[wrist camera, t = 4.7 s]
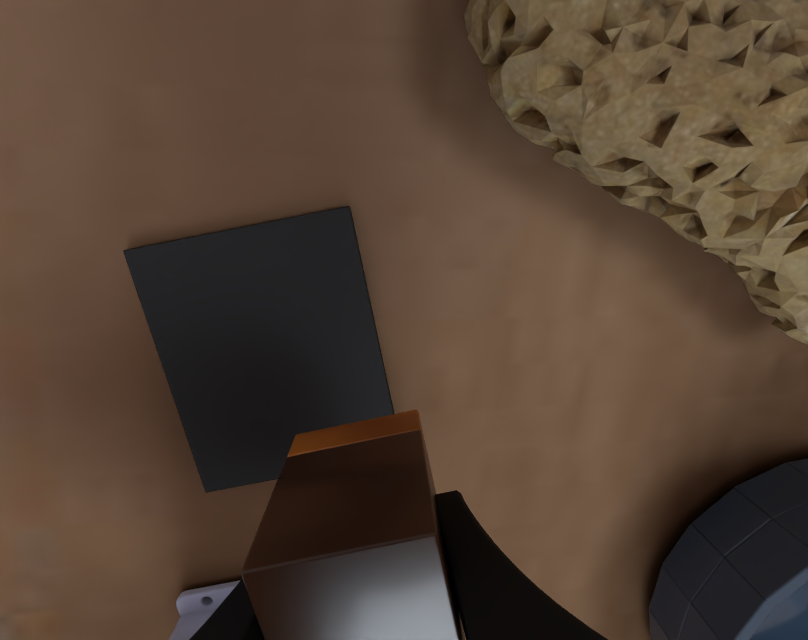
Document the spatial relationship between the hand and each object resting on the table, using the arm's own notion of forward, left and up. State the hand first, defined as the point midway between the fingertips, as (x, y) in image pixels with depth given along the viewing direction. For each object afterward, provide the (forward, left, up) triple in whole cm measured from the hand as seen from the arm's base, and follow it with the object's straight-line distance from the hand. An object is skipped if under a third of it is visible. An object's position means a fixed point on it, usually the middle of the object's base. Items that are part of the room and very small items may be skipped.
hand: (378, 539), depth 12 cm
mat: (-4, +3, -8) cm, 10 cm away
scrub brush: (0, 0, -1) cm, 1 cm away
